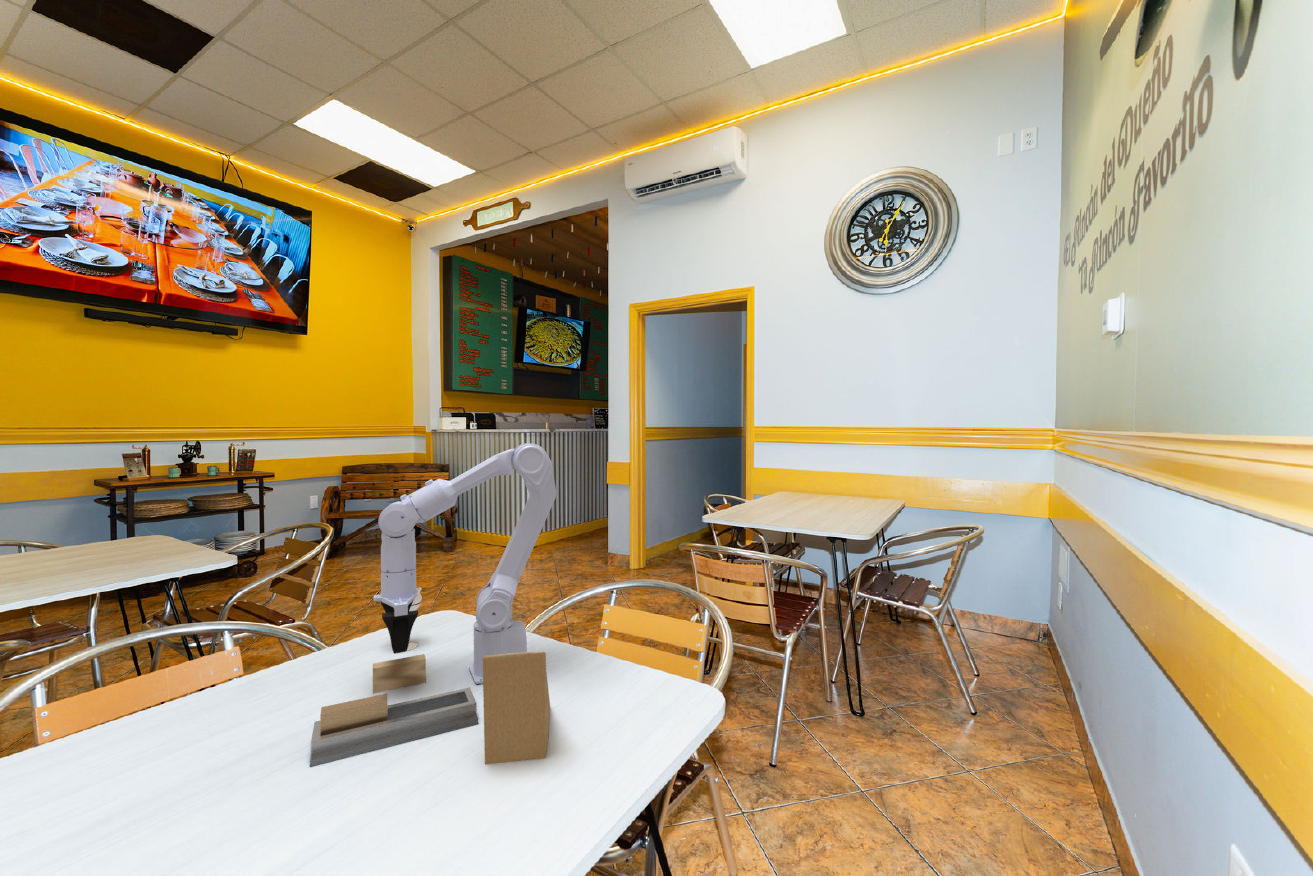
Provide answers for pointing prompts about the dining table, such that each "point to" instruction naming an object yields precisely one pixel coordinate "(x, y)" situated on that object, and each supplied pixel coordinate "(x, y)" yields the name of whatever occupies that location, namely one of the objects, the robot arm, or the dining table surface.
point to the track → (387, 723)
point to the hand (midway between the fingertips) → (398, 644)
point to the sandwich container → (515, 707)
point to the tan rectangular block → (399, 673)
